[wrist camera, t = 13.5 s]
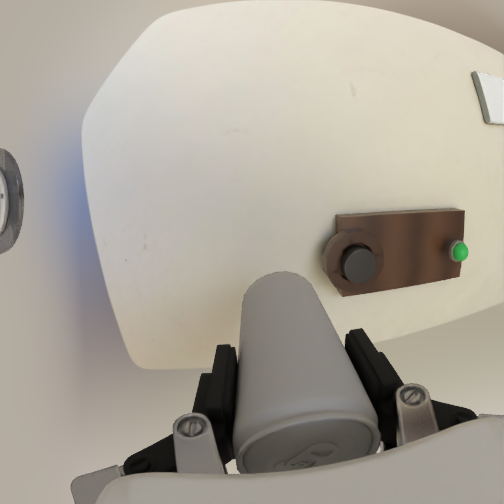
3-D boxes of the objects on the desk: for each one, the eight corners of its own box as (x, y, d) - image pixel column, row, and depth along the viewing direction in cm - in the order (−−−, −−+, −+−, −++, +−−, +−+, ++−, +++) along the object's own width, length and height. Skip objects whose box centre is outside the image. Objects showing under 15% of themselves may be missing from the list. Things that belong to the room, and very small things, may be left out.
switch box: (319, 291, 33) (327, 306, 29) (316, 216, 30) (325, 221, 26) (450, 271, 32) (467, 281, 28) (454, 208, 30) (473, 212, 26)
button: (339, 280, 28) (344, 286, 27) (339, 246, 28) (344, 251, 26) (370, 275, 28) (376, 281, 27) (370, 243, 27) (377, 247, 26)
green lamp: (446, 261, 28) (457, 266, 26) (448, 240, 27) (459, 244, 25) (460, 258, 28) (471, 263, 26) (462, 238, 27) (473, 242, 25)
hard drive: (470, 72, 24) (510, 83, 24) (484, 123, 26) (521, 127, 26) (476, 70, 23) (516, 81, 22) (491, 122, 25) (527, 127, 24)
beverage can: (228, 310, 18) (201, 470, 7) (272, 252, 17) (307, 390, 6) (285, 345, 19) (311, 498, 7) (329, 294, 18) (411, 433, 6)
